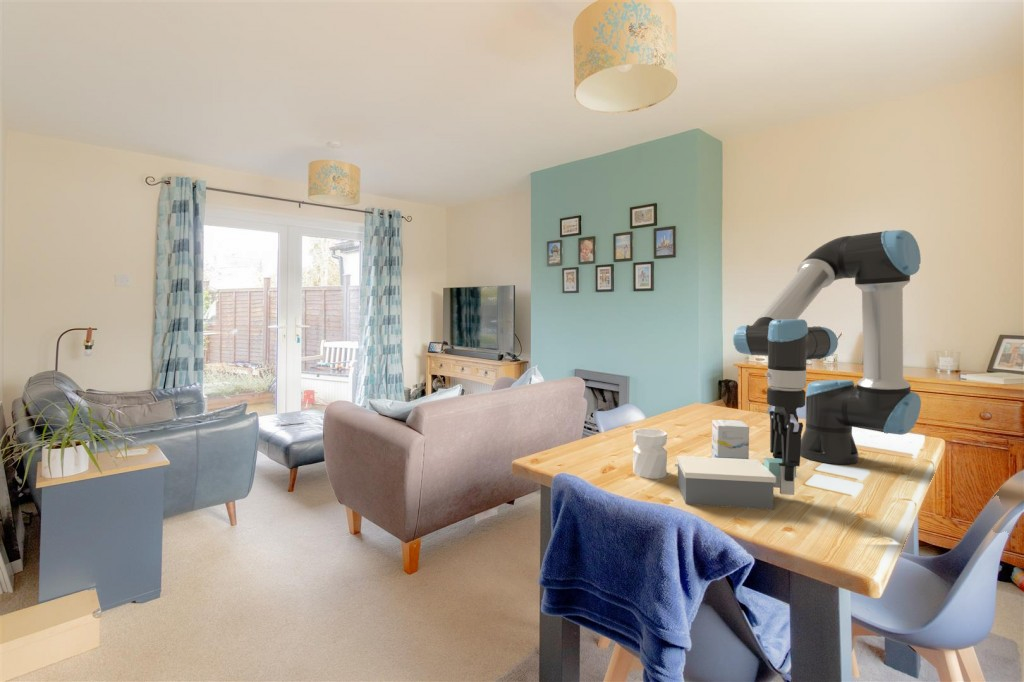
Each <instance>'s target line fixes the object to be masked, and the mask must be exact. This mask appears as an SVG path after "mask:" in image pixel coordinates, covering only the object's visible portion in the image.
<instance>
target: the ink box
mask: <svg viewBox="0 0 1024 682" xmlns="http://www.w3.org/2000/svg"><path fill="white" fill-rule="evenodd" d="M711 423H712V424H711V451H710V452H711V453H710V454H711V455H710V456H711V457H714V458H736V459H749V458H750V456H749V455H750V451H749V450H750V426H748V424H746V423H745V422H744V421H743V420H734V419H733V420H732V419H712V420H711Z"/></svg>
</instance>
